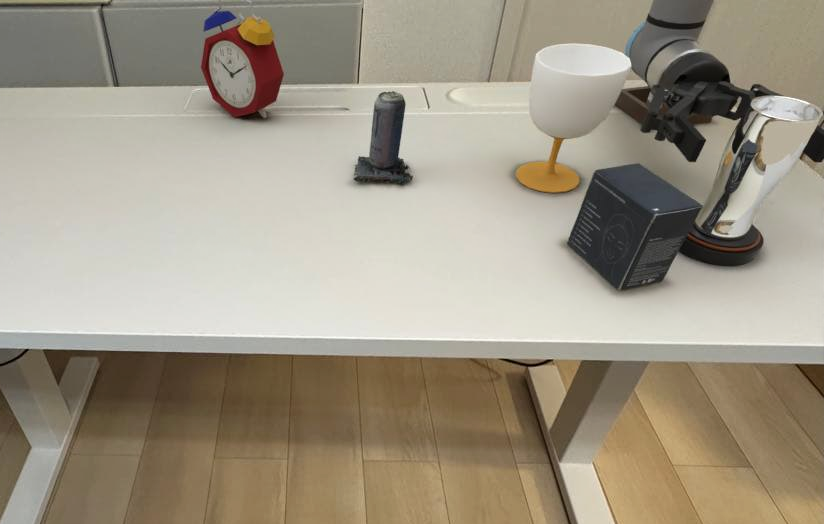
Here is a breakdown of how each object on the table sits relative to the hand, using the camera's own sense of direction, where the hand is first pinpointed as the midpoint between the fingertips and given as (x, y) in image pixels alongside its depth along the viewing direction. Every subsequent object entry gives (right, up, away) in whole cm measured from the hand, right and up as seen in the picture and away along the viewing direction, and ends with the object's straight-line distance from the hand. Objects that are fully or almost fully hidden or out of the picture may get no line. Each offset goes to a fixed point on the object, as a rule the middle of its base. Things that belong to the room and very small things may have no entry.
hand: (761, 151), depth 67 cm
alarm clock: (-61, +22, +44) cm, 78 cm away
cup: (-15, +3, +22) cm, 26 cm away
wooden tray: (+11, +18, +35) cm, 41 cm away
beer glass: (0, -7, +7) cm, 10 cm away
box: (-13, -12, +7) cm, 19 cm away
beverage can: (-40, +4, +24) cm, 47 cm away
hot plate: (0, -9, +8) cm, 12 cm away
